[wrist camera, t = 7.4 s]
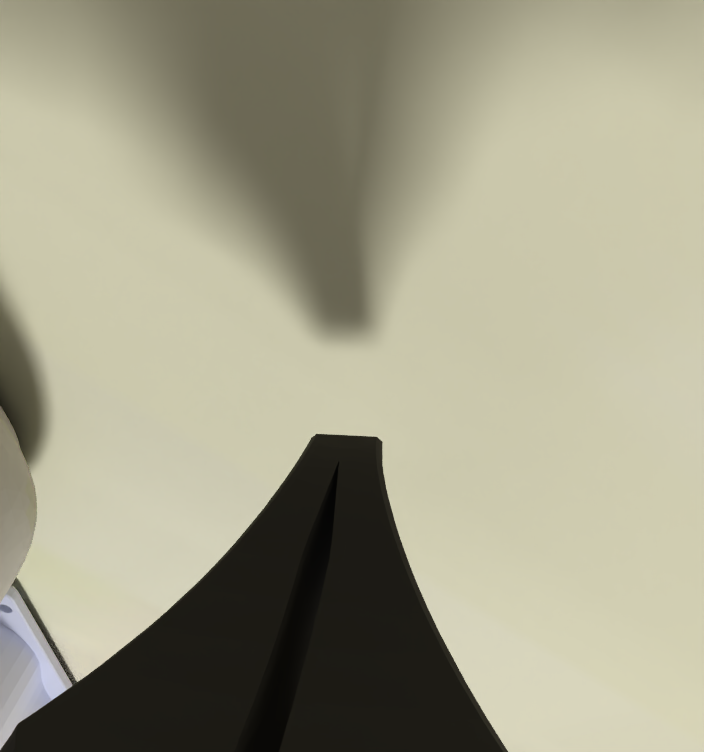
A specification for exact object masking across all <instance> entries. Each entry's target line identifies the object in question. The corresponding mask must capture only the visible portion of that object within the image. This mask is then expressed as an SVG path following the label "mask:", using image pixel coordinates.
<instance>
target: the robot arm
mask: <svg viewBox="0 0 704 752" xmlns="http://www.w3.org/2000/svg"><path fill="white" fill-rule="evenodd" d="M0 752H508V751H507V749H506V748H505V746H504V745H503V743H502V742H501V740H500V738H499V737H498V735H497V734H496V732H495V730H494V729H493V727H492V726H491V724H490V722H489V721H488V719H487V718H486V716H485V714H484V713H483V711H482V709H481V707H480V706H479V704H478V702H477V701H476V699H475V697H474V696H473V694H472V692H471V691H470V689H469V687H468V685H467V684H466V682H465V680H464V678H463V676H462V674H461V673H460V671H459V669H458V667H457V665H456V663H455V661H454V659H453V658H452V656H451V654H450V652H449V650H448V648H447V646H446V644H445V643H444V641H443V639H442V637H441V635H440V633H439V631H438V629H437V627H436V625H435V623H434V621H433V618H432V616H431V614H430V612H429V610H428V608H427V606H426V603H425V601H424V599H423V597H422V594H421V592H420V590H419V587H418V585H417V583H416V580H415V578H414V575H413V573H412V570H411V568H410V565H409V562H408V560H407V557H406V554H405V551H404V548H403V546H402V543H401V540H400V537H399V534H398V531H397V527H396V524H395V521H394V517H393V513H392V510H391V506H390V502H389V499H388V494H387V490H386V485H385V480H384V474H383V467H382V441H381V440H380V439H378V438H377V437H367V436H347V435H327V434H316V435H315V436H314V437H312V438H311V440H310V442H309V443H308V445H307V447H306V449H305V450H304V452H303V453H302V455H301V457H300V458H299V460H298V461H297V463H296V464H295V466H294V467H293V469H292V470H291V472H290V473H289V475H288V476H287V478H286V479H285V481H284V482H283V483H282V485H281V486H280V487H279V489H278V490H277V491H276V493H275V494H274V495H273V497H272V498H271V500H270V501H269V502H268V504H267V505H266V506H265V508H264V509H263V510H262V511H261V513H260V514H259V515H258V516H257V518H256V519H255V520H254V521H253V522H252V524H251V525H250V526H249V527H248V528H247V530H246V531H245V532H244V533H243V534H242V536H241V537H240V538H239V539H238V540H237V541H236V543H235V544H234V545H233V546H232V547H231V548H230V549H229V550H228V552H227V553H226V554H225V555H224V556H223V557H222V558H221V559H220V560H219V561H218V562H217V563H216V564H215V566H214V567H213V568H212V569H211V570H210V571H209V572H208V573H207V574H206V575H205V576H204V577H203V578H202V579H201V580H200V581H199V582H198V583H197V584H196V585H195V586H194V587H193V588H191V589H190V590H189V591H188V592H187V593H186V594H185V595H184V596H183V597H182V598H181V599H180V600H179V601H177V602H176V603H175V604H174V605H173V606H172V607H171V608H170V609H169V610H168V611H167V612H166V613H164V614H163V615H162V616H161V617H160V618H159V619H158V620H156V621H155V622H154V623H153V624H152V625H151V626H149V627H148V628H147V629H146V630H145V631H143V632H142V633H141V634H140V635H138V636H137V637H136V638H135V639H133V640H132V641H131V642H130V643H128V644H127V645H126V646H124V647H123V648H122V649H121V650H119V651H118V652H117V653H116V654H114V655H113V656H112V657H111V658H109V659H108V660H107V661H106V662H104V663H103V664H102V665H101V666H99V667H98V668H97V669H95V670H94V671H93V672H91V673H90V674H89V675H87V676H86V677H84V678H83V679H82V680H80V681H79V682H77V683H76V684H74V685H72V683H71V682H70V680H69V678H68V676H67V675H66V673H65V671H64V669H63V668H62V666H61V664H60V663H59V661H58V659H57V657H56V656H55V654H54V652H53V651H52V649H51V647H50V645H49V644H48V642H47V640H46V638H45V637H44V635H43V633H42V632H41V630H40V628H39V626H38V625H37V623H36V621H35V620H34V618H33V616H32V614H31V613H30V611H29V609H28V607H27V606H26V604H25V602H24V601H23V599H22V597H21V595H20V594H19V592H18V591H17V590H16V589H15V588H14V587H12V586H11V587H10V588H9V590H8V592H7V593H6V595H5V596H4V598H3V600H2V601H1V603H0Z"/></svg>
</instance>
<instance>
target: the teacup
mask: <svg viewBox="0 0 704 752" xmlns="http://www.w3.org/2000/svg"><path fill="white" fill-rule="evenodd" d="M36 518H37V503H36V493H35V486H34V483H33V480H32V477H31V473H30V470H29V467H28V465H27V462H26V460H25V458H24V456H23V453H22V451H21V449H20V445H19V441H18V438H17V436H16V433H15V431H14V429H13V427H12V425H11V423H10V421H9V419H8V417H7V416H6V414H5V412H4V411H3V409H2V407H1V406H0V603H1V601H2V600H3V598H4V596H5V595H6V593H7V592H8V590H9V588H10V587H11V585H12V584H13V582H14V580H15V578H16V576H17V574H18V572H19V571H20V569H21V567H22V565H23V563H24V561H25V558H26V556H27V554H28V551H29V549H30V546H31V543H32V540H33V535H34V530H35V525H36Z"/></svg>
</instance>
